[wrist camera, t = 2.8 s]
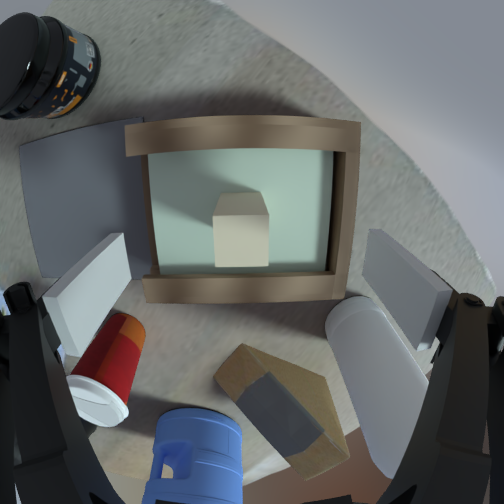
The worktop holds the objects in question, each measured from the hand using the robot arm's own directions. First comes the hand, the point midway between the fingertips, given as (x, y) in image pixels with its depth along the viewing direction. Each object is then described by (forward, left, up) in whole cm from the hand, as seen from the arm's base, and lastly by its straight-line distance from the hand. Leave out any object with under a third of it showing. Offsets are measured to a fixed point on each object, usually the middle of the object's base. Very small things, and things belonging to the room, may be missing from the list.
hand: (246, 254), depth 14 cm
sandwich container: (+3, -26, -15) cm, 31 cm away
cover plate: (0, 0, -10) cm, 10 cm away
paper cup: (-16, -17, -15) cm, 28 cm away
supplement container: (-20, +16, -15) cm, 30 cm away
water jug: (-9, -41, -15) cm, 45 cm away
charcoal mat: (-19, 0, -15) cm, 24 cm away
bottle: (+14, -16, -15) cm, 26 cm away
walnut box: (0, 0, -15) cm, 15 cm away
